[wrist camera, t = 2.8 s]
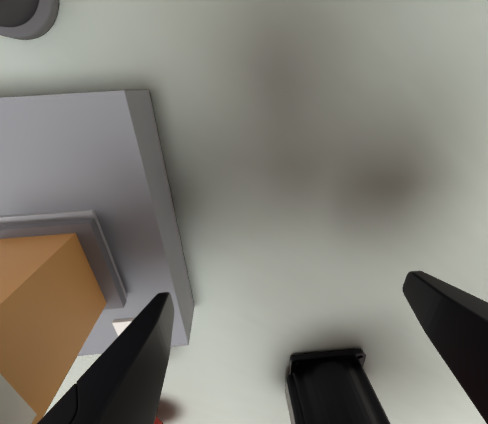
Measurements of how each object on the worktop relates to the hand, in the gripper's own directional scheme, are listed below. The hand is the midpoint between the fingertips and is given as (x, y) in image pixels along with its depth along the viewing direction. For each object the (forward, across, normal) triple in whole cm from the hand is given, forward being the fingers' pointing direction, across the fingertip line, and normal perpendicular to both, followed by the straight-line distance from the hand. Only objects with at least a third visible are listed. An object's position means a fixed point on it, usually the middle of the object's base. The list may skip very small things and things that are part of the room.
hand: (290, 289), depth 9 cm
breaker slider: (+2, +10, 0) cm, 10 cm away
